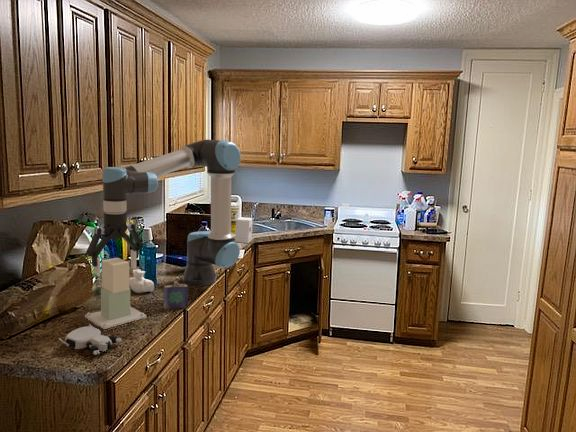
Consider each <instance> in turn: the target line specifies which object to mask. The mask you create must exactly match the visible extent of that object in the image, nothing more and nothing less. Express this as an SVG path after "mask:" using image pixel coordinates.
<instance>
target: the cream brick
mask: <svg viewBox="0 0 576 432" xmlns="http://www.w3.org/2000/svg"><path fill="white" fill-rule="evenodd" d="M129 278H130V262H129V261H127V260H124V259H122V258H120V257H114V258H113V257H112V258H108V259H107V258H106V259H101V289H102V288H104V289H106V290H108V291H110V292H112V293H117V292H121V291H126V290H129V288H130V285H129Z"/></svg>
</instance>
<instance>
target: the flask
mask: <svg viewBox="0 0 576 432" xmlns="http://www.w3.org/2000/svg"><path fill="white" fill-rule="evenodd" d="M188 295H189V285H188V284H185V283H179V282H178V280H174V281H173V284H170V285H168V284H167V285H164V286H163V303H162V304H163V305H162V306H163V309H164V310H176V309H186V308H188V306H189V305H188V304H189V296H188Z"/></svg>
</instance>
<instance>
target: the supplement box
mask: <svg viewBox="0 0 576 432" xmlns="http://www.w3.org/2000/svg"><path fill="white" fill-rule="evenodd" d="M253 221H254V220H253V217H244V216H239V217H237V218H236V219H235V234H234V242H235V243H242V244H249V243H251V242H252V240H253V239H252V237H253Z"/></svg>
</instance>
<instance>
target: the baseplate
mask: <svg viewBox="0 0 576 432" xmlns="http://www.w3.org/2000/svg"><path fill="white" fill-rule="evenodd" d="M84 318H85V319H86V318H87V319H88V320H87V319H86V320H87V321H89V320H90V321H92V322H93V323H95V324H97V325H98V326H100V327H101V328H103V329H106V328H110V327H113V326H117V325H121V324H124V323H127V322H131V321H134V320H139V319H142V318H146V319H147V315H146V314H145V313H144V312H141V311H140V310H138V309H136V308H134V307H133V306H130V315H128V316H124V317H120V318H117V319H113V320H108V319H106V318H105V317H103V316H101V310H100V311H95V312H87V313H86V314H84ZM142 320H143V319H142ZM90 321H89V322H90ZM139 321H140V320H139ZM92 322H91V323H92ZM93 323H92V324H93ZM95 324H94V325H95ZM98 326H97V327H98ZM101 328H100V329H101Z"/></svg>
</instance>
